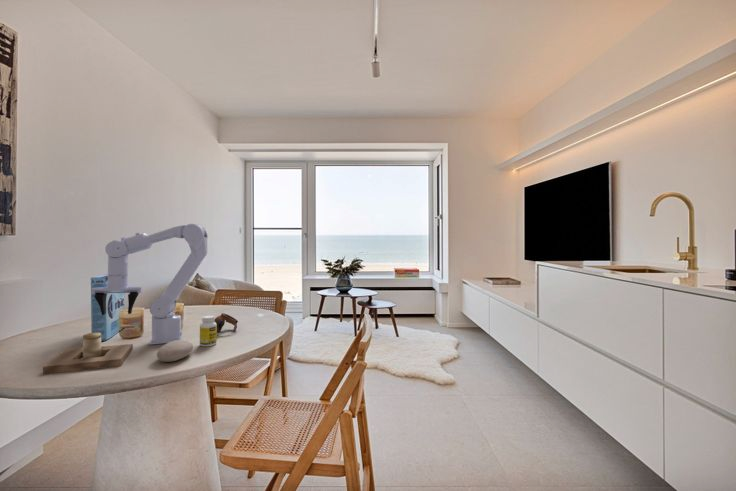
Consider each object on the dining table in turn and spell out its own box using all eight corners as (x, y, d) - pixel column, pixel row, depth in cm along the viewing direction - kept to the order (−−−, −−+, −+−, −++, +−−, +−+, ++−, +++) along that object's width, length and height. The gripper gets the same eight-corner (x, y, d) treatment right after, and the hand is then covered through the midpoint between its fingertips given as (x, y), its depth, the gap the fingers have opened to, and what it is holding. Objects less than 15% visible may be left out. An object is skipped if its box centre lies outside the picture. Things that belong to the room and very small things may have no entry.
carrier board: (132, 349, 122) (132, 343, 121) (120, 365, 107) (120, 359, 107) (65, 355, 115) (65, 349, 115) (42, 373, 100) (42, 366, 100)
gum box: (106, 341, 131) (106, 277, 131) (89, 342, 130) (89, 277, 129) (126, 327, 150) (125, 271, 149) (111, 328, 149) (111, 272, 148)
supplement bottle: (210, 347, 125) (210, 318, 125) (196, 346, 126) (196, 318, 126) (219, 342, 130) (219, 315, 130) (206, 341, 132) (206, 314, 131)
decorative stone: (179, 366, 107) (179, 349, 107) (148, 365, 108) (148, 348, 107) (199, 352, 120) (199, 337, 120) (172, 351, 120) (172, 336, 120)
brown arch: (212, 330, 150) (223, 311, 152) (232, 341, 149) (243, 322, 151) (201, 329, 138) (213, 310, 140) (222, 341, 138) (234, 321, 140)
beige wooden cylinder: (101, 357, 114) (101, 331, 114) (101, 361, 110) (101, 335, 110) (83, 360, 111) (83, 333, 111) (82, 364, 108) (82, 337, 107)
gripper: (143, 273, 134) (143, 310, 135) (96, 274, 129) (95, 312, 129) (140, 275, 128) (139, 314, 128) (89, 276, 122) (88, 316, 123)
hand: (116, 313), depth 128 cm, fingers open, 7 cm apart
